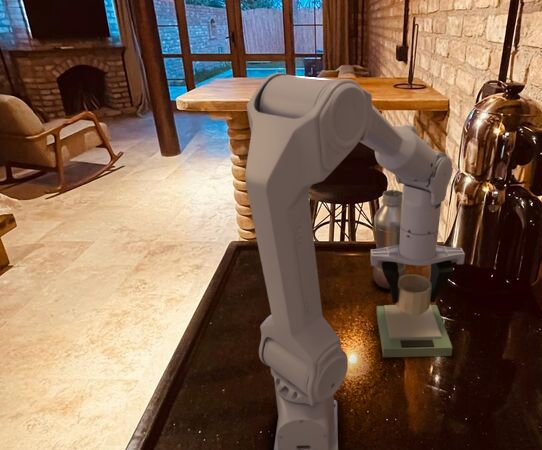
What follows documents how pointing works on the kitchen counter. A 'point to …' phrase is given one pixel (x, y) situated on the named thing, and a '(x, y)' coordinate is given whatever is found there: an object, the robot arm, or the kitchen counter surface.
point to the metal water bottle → (388, 231)
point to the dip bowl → (413, 294)
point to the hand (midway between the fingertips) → (413, 299)
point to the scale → (412, 333)
